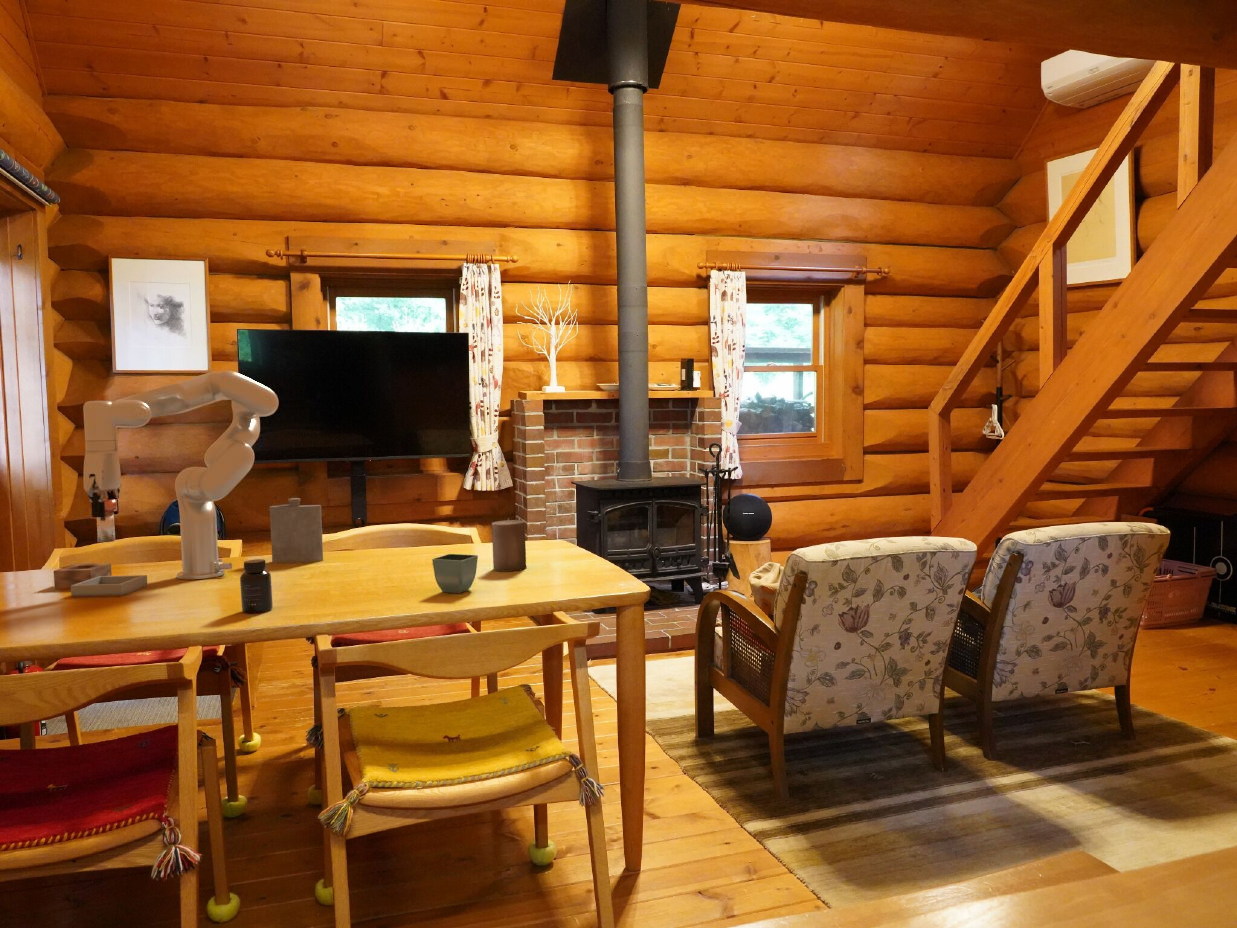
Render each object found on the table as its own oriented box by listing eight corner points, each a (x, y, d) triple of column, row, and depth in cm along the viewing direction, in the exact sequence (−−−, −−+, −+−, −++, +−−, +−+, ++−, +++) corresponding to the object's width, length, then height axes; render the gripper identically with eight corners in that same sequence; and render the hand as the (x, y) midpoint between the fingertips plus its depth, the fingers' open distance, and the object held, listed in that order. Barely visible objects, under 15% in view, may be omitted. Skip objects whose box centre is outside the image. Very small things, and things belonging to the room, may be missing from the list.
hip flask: (324, 559, 283) (322, 497, 282) (320, 562, 279) (317, 498, 278) (274, 560, 283) (271, 497, 282) (269, 563, 279) (266, 499, 278)
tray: (147, 585, 246) (146, 575, 246) (121, 596, 233) (120, 584, 233) (100, 586, 246) (99, 576, 246) (71, 597, 233) (70, 585, 233)
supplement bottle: (247, 608, 216) (244, 558, 215) (276, 607, 216) (274, 557, 215) (237, 614, 209) (235, 563, 208) (267, 613, 209) (265, 562, 209)
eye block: (112, 580, 254) (110, 563, 254) (91, 588, 244) (90, 570, 244) (76, 581, 254) (75, 564, 254) (54, 588, 244) (53, 570, 244)
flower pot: (479, 588, 233) (478, 554, 233) (463, 595, 225) (462, 560, 224) (449, 587, 236) (448, 553, 236) (432, 594, 228) (431, 559, 227)
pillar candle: (533, 567, 263) (531, 516, 262) (512, 572, 255) (510, 520, 254) (507, 565, 268) (505, 515, 267) (485, 570, 260) (484, 518, 259)
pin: (102, 539, 241) (100, 499, 240) (122, 539, 241) (120, 498, 240) (89, 542, 236) (87, 501, 235) (111, 542, 236) (109, 501, 235)
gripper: (106, 446, 245) (109, 512, 247) (67, 449, 228) (71, 519, 229) (133, 446, 245) (136, 511, 247) (97, 448, 228) (101, 519, 229)
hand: (105, 514), depth 238 cm, fingers closed on pin, 5 cm apart
